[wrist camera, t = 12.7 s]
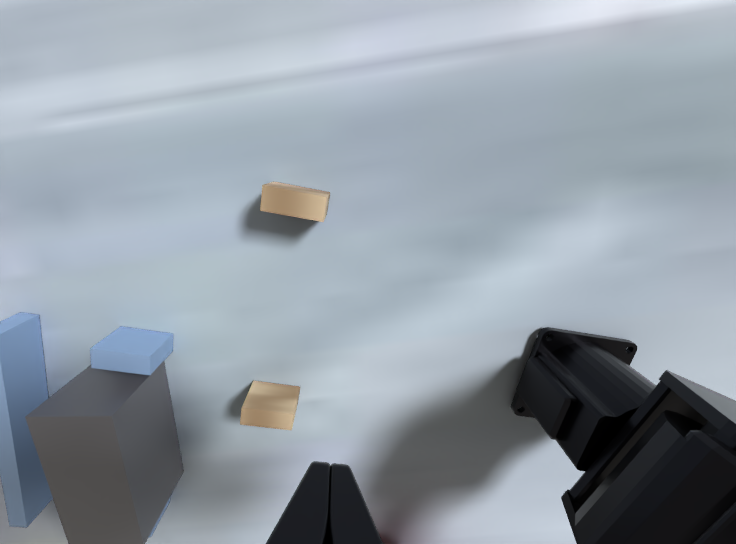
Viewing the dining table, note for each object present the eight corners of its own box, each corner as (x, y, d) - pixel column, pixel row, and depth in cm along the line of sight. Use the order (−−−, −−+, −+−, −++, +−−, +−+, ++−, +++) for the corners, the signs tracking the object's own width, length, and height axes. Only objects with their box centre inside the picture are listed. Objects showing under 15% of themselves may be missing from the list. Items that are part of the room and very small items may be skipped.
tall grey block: (165, 358, 21) (111, 416, 16) (184, 469, 24) (143, 545, 19) (98, 358, 21) (24, 416, 16) (126, 470, 24) (70, 547, 19)
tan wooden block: (330, 192, 18) (327, 196, 16) (297, 401, 22) (291, 430, 20) (274, 181, 18) (262, 184, 16) (251, 396, 22) (240, 424, 20)
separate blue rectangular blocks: (173, 333, 20) (149, 356, 18) (170, 500, 25) (150, 537, 22) (20, 312, 20) (-26, 333, 17) (43, 489, 24) (9, 526, 21)
